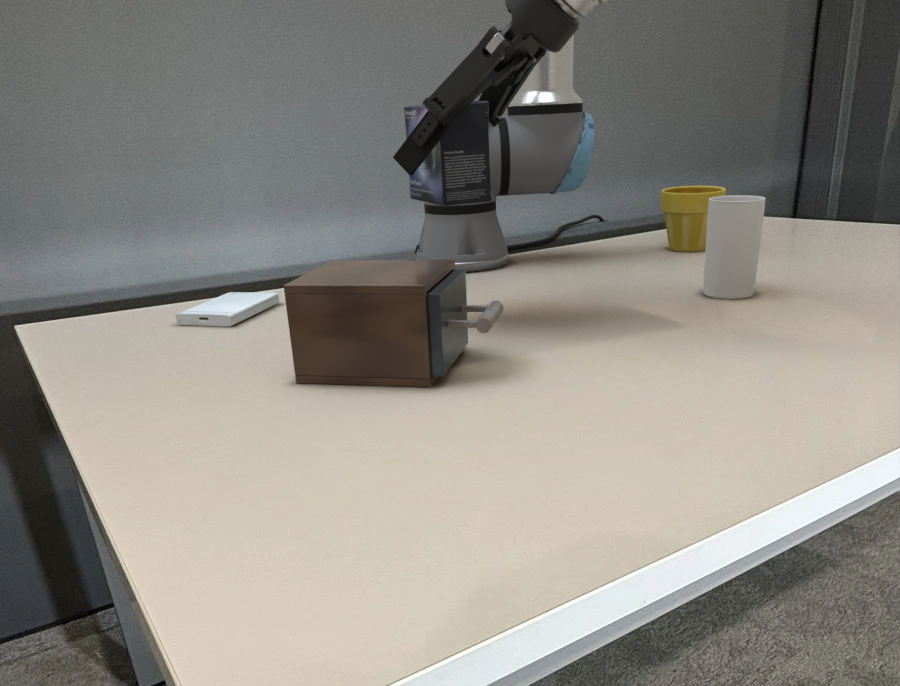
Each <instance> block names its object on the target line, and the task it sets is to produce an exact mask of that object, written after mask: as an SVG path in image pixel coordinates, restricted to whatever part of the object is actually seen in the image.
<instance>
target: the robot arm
mask: <svg viewBox="0 0 900 686" xmlns="http://www.w3.org/2000/svg"><path fill="white" fill-rule="evenodd" d="M608 1H609V0H504V5H505V7H506V10H507V12H508V13H510V14H511V20H510V22H509V23H508V24H507V25H506V26H505V27H504V28H503V29H499V30H498V29H497V27H496V26H494V25H493V26H491V27H490V28H489V29H487V31H486V33H485V34H484V35H483V37H482V38H481V39H480V41H479V42H478V43H477V45H476V46H475V47H474V48H473V49H472V50H471V52H469V53H468V55H467V56H466V57H465V58H464V59H463V60H462V61H461V62H460V63H459V64H458V66H456V67H455V68H454V70H452V72H450V74H449V75H448V76H447V77H446V78H445V79H444V80H443V82H442V83H441V84H440V85H439V86H437V88H436V89H435V90H434V91H433V92H432V93H431V94H430V95H429V96H428V97H427V96H426V98H424V100H423V101H422V105H424V106H425V107H426V108H427V109H428V111H427V112H426V114H425V115H424V116H423V118H422V119H421V120H420V122H419V123H418V124H417V126H416V127H415V128H414V130H413V131H412V132H411V134H410V135H409V136H408V138H407V139H405V140H404V142H403V143H402V144H401V145H400V147H399V149H398V150H397V151H396V152H395V154H394V155H393V156H392V158H393V160H394V161H395V162H396V163H398V165H399V166H400V167H401V168H402V169H403V170H404V172H406V174H408V176H409V175H413V174H414V173H415V171H416V170H417V169H418V168H419V166H420V165H421V164H422V162H423V161H424V160H425V159H426V157H427V156H428V155H429V154H430V152H431V151H432V150H433V148H434V147H435V146H436V145H437V143H438V142H439V141H440V139H441V138H442V137H443V136H444V134H445V133H446V132H447V131H448V129H449V127H448V126H447V125H448V124H449V123H450V122H451V121H452V120H453V119H454V118H455V117H456V116H457V115H459V114H460V113H461V112H462V111H463V110H464V109H465V108H466V107H467V106H468V105H469V104H470V103H472V102H473V101H476V99H477V98H478V97H479V98H478V100H477V101H488V102H489V111H488V115H489V120H488V124H489V128H488V129H489V152H490V176H491V194H492V201H491V202H481V203H472V204H461V205H451V206H440V205H436V204H432V203H428V202H423V205H424V206H423V207H424V209H423V210H424V221H423V225H422V229H421V232H420V235H419V236H420V237H419V240H418V244H417V245H416V246H415V250H414V255H415V260H455V270H465V272H466V273H468V272H469V273H471V272H480V271H487V270H492V269H493V270H494V269H497V268H501V267H503V266H506V265H507V264H508V263H509V250H514V249H521V248H527V247H531V246H535V245H540V244H543V243H547V242H549V241H552V240H553V239H554V238H555V237H557V236H558V235H559V234H560V231H562V230H563V229H566V228H569V227H572V226H576V225H580V224H582V223H585V222H587V221H590V220H592V219H597V220H598V221H600V222H605V220H604V218H603V217H602V216H601V215H599V214H591V215H588V216H586V217H584V218H581V219H579V220H573V221H570V222H566V223H564V224H562V225H560V226H559V227H557V228H556V230H555V232H553V233H552V234H551V235H549V236H547V237H544V238H541V239H537V240H532V241H528V242H522V243H516V244H507V242H506V239H505V237H504V234H503V231H502V228H501V224H500V221H499V218H498V215H497V197H502V196H523V195H539V194H540V195H541V194H550V195H555V194H557V193H566V192H574V191H576V190H578V189H580V187H581V186H583V184H584V183H585V180H586V178H587V176H588V174H589V170H590V167H591V162H592V158H593V152H594V144H595V130H594V129H595V128H594V127H595V121H594V118H593V116H592V114H590V113H588V112H586V111H583V110H584V108H583V106H584V104H583V103H584V101H583V99H582V98H581V97H580V96H579V95H578V94H577V93H576V91H575V89H574V51H575V47H574V46H575V43H574V41H575V38H574V37H575V33H576V32H577V31H578V30H579V28H580V24H581V23H580V20H579V17H581V18H588V17H589V15H591V13H592V12H593V11H594V9H595V8H596V7H597V6H598V4H600V5H606V4H607V3H608ZM442 104H444V106H445V108H444V107H443V106H442ZM506 110H507V117H505V116H504V117H502V116H503V115H504V114H505V112H506Z"/></svg>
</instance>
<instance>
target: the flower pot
mask: <svg viewBox="0 0 900 686" xmlns="http://www.w3.org/2000/svg"><path fill="white" fill-rule="evenodd" d="M717 196H727V189H726V188H725V187H722V186H715V185H683V186H672V187H666V188H663V189H661V190H660V197H659V198H660V200H659V202H660V203H659V205H660V206H659V209H660V211H661V212H662V213H663V217H664V223H665V230H666V236H667V242H668V248H669V250H670V251H674V252H681V253H693V252H694V253H696V252H703V251H705V249H706V232H707V214H708V203H709V198H711V197H717Z"/></svg>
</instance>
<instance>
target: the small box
mask: <svg viewBox="0 0 900 686" xmlns="http://www.w3.org/2000/svg"><path fill="white" fill-rule="evenodd" d="M442 106H443V107H444V108H445V106H444V104H442ZM427 111H428V109H427V108H426V107H425V106H424V105H423V104H417V105H406V106H404V107H403V112H404V125H405V126H404V127H405V137H406V139H407V138H408V136H409V135H410V134H411V132H412V131H413V130H414V128H415V127H416V126H417V124H418V123H419V122H420V120H421V119H422V118H423V116H424V115H425V114H426V112H427ZM488 111H489V102H488V101H478V100H474V101H473V102H472V103H470V104H469V105H468V106H467V107H466V108H465V109H464V110H463V111H462V112H461V113H460V114H459V115H457V116H456V117H455V118H454V119H453V120H452V121H451V122H450V123H449V124H448V125H447V126H448V127H449V129H448V131H447V132H446V133H445V134H444V136H443V137H442V138H441V139H440V141H439V142H438V143H437V145H436V146H435V147H434V148H433V150H432V151H431V152H430V154H429V155H428V156H427V157H426V159H425V160H424V161H423V162H422V164H421V165H420V166H419V168H418V169H417V170H416V171H415V173H414V174H413V175H409V174H408V176H409V177H408V178H409V179H408V180H409V191H410V199H411V200H414V201H415V200H416V201H420V202H423V203H424V202H428V203H432V204H436V205H440V206H451V205H461V204H472V203H481V202H491V201H492V194H491V176H490V152H489V129H488V128H489V124H488V120H489V115H488ZM406 139H405V140H406Z"/></svg>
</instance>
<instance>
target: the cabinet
mask: <svg viewBox="0 0 900 686" xmlns="http://www.w3.org/2000/svg"><path fill="white" fill-rule="evenodd" d="M454 270H455V260H416V259H373V260H372V259H369V260H367V259H365V260H364V259H363V260H361V259H360V260H359V259H357V260H348V259H347V260H342V259H341V260H330V261H328V262H326V263H324V264H322V265H320V266H318V267H316V268H315V269H312V270H311V271H308V272H306V273H305V274H302V275H301V276H298V277H297V278H295V279H293V280H291V281H289V282H288V283H286V284H284V285H283V294H284V299H285V308H286V315H287V323H288V331H289V332H288V333H289V339H290V345H291V355H292V361H293V370H294V375H295V376H294V378H295V382H296V383H295V384H309V385H311V384H314V385H345V386H346V385H347V386H377V387H411V388H414V387H415V388H431V387H432V386H433V384H434V383H435V382H436V380H437V379H438V378H439V376H432V371H431V354H430V337H429V319H428V302H427V292H428V291H429V290H430V289H431V288H432V287H433V286H435V285H436V284H437V283H438V282H439V281H440V280H441V281H442V280H444V279H445V278H446V277H447V276H448V275H449V274H450V273H451V272H452V271H454Z"/></svg>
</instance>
